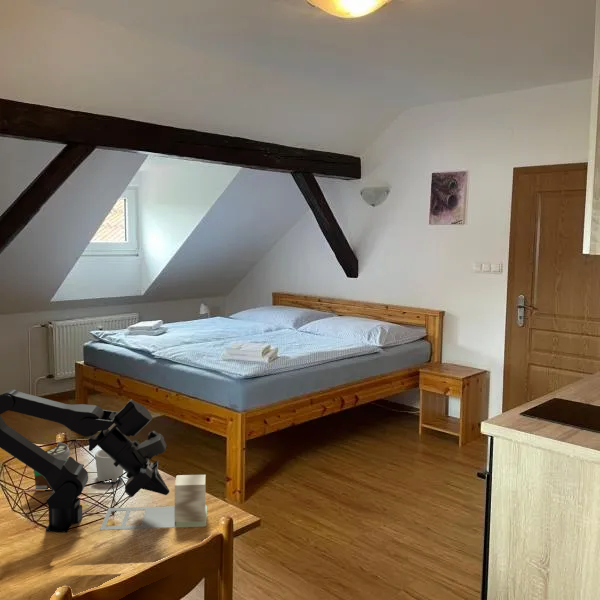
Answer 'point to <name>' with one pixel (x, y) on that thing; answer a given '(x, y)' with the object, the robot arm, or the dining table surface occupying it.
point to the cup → (106, 467)
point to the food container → (57, 452)
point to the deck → (152, 518)
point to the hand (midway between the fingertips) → (168, 493)
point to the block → (190, 498)
